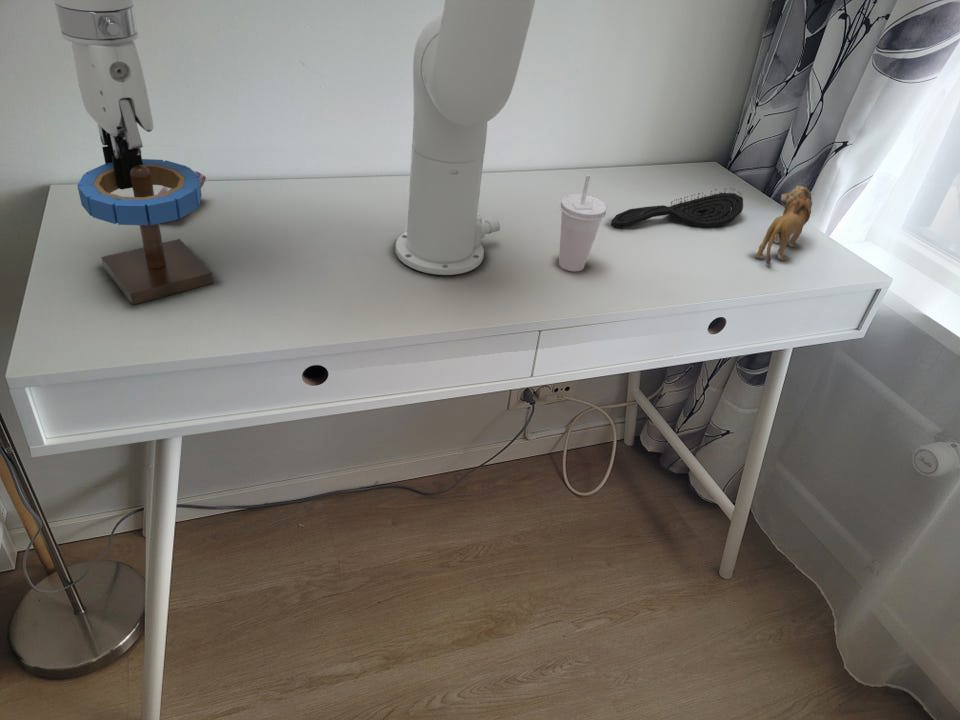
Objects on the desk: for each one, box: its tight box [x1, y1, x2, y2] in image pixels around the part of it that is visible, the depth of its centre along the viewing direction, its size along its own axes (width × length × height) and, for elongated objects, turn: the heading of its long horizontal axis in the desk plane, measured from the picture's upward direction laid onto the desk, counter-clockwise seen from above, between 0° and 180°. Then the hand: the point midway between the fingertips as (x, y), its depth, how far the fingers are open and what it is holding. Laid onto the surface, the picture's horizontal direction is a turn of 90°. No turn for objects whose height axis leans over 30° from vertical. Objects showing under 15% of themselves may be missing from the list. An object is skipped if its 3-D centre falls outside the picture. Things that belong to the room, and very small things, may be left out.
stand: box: [101, 165, 214, 306], centre depth 90 cm, size 10×10×15 cm
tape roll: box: [77, 158, 203, 226], centre depth 88 cm, size 13×13×2 cm
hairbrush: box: [610, 187, 744, 229], centre depth 123 cm, size 8×4×25 cm
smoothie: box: [558, 174, 607, 272], centre depth 104 cm, size 6×6×14 cm
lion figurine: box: [754, 185, 813, 265], centre depth 117 cm, size 15×5×9 cm, turn 151°
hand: (126, 180), depth 91 cm, fingers closed on tape roll, 2 cm apart
